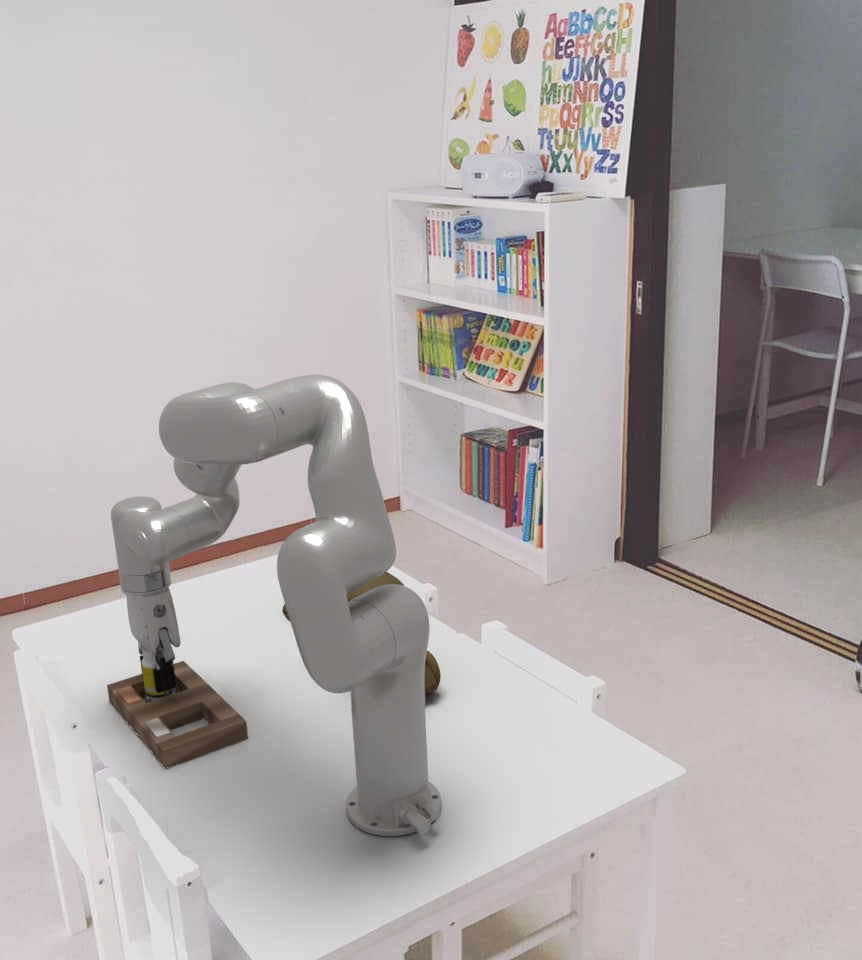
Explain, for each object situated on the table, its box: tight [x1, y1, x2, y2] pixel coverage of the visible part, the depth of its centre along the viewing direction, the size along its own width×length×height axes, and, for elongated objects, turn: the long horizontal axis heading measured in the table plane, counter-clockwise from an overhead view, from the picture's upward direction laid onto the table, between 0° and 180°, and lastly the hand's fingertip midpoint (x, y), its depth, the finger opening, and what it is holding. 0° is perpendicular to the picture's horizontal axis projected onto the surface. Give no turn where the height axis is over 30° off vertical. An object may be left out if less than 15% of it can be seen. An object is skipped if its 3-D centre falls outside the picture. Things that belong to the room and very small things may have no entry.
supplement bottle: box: [140, 645, 177, 701], centre depth 171 cm, size 5×5×8 cm
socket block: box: [106, 660, 249, 769], centre depth 168 cm, size 24×13×3 cm, turn 35°
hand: (159, 681), depth 172 cm, fingers closed on supplement bottle, 4 cm apart
